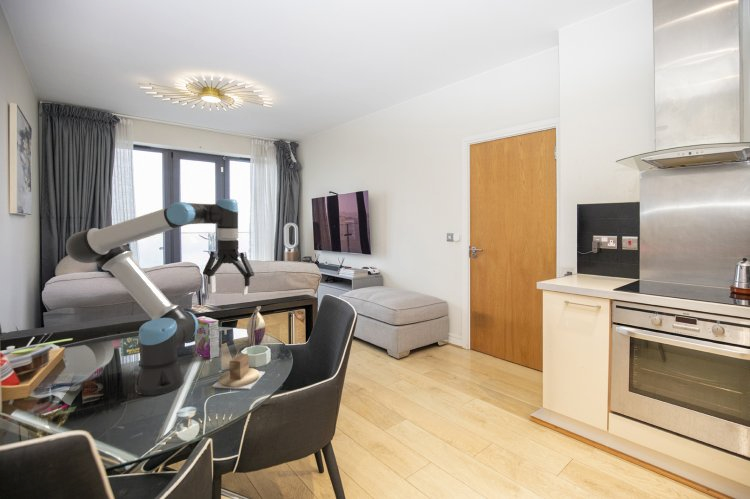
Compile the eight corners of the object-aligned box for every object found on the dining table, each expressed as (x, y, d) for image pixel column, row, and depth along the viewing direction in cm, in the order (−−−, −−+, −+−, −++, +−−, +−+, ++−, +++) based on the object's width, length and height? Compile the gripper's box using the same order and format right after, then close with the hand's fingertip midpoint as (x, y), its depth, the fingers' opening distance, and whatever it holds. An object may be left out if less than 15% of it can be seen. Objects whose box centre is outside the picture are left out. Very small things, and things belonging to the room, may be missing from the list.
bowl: (237, 366, 149) (237, 354, 149) (249, 356, 160) (248, 345, 160) (263, 367, 148) (263, 355, 148) (273, 357, 159) (273, 346, 159)
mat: (212, 387, 131) (212, 386, 131) (230, 370, 145) (230, 369, 145) (249, 389, 130) (249, 388, 129) (265, 372, 143) (265, 371, 143)
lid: (212, 386, 131) (211, 364, 130) (230, 369, 145) (230, 349, 144) (249, 388, 130) (249, 365, 129) (264, 371, 143) (264, 351, 143)
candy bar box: (194, 354, 161) (193, 318, 160) (204, 351, 165) (203, 315, 164) (209, 360, 155) (208, 322, 154) (220, 356, 159) (219, 319, 158)
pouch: (263, 354, 163) (263, 312, 161) (244, 355, 161) (243, 313, 159) (267, 335, 187) (266, 299, 185) (250, 336, 185) (249, 300, 183)
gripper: (262, 239, 142) (263, 293, 144) (204, 237, 146) (205, 289, 148) (253, 241, 135) (254, 297, 137) (192, 239, 139) (193, 293, 141)
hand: (228, 293), depth 143 cm, fingers open, 13 cm apart
